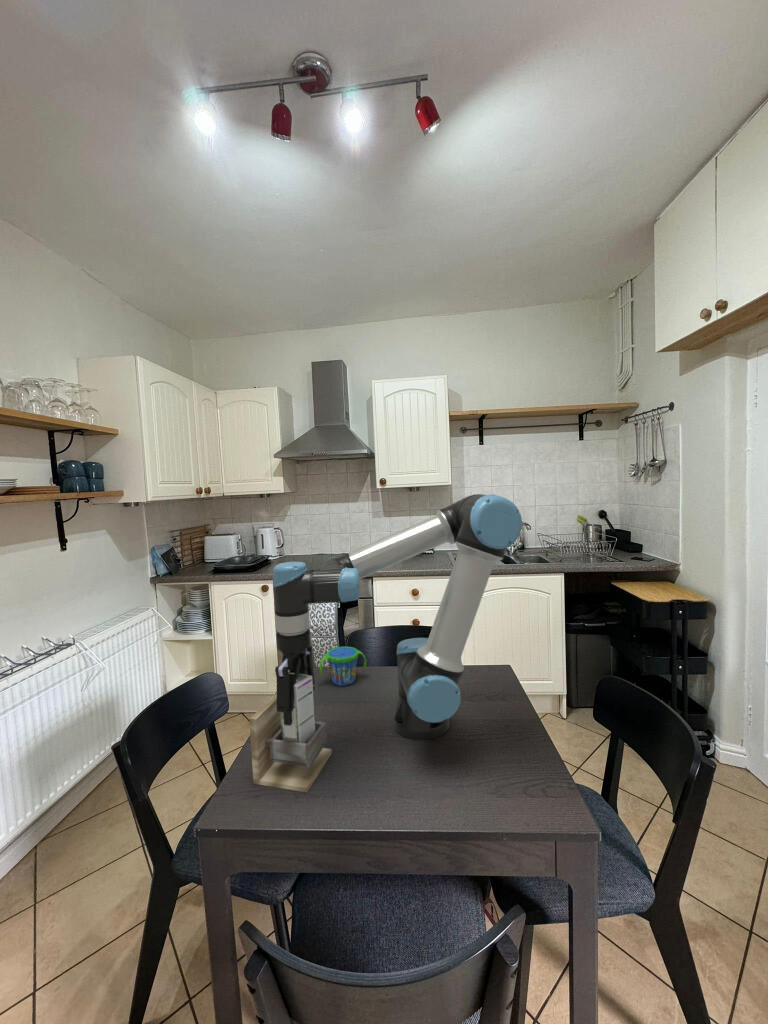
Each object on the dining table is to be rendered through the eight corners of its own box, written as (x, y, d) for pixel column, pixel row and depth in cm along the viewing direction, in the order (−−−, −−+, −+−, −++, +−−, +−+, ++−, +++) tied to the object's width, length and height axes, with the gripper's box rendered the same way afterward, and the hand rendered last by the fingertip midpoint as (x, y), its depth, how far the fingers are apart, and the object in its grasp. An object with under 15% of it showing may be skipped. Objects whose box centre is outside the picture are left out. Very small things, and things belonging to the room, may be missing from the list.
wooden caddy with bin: (331, 753, 107) (328, 693, 106) (306, 792, 94) (303, 725, 93) (284, 746, 111) (280, 689, 110) (253, 783, 97) (249, 718, 96)
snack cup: (364, 672, 152) (362, 643, 152) (369, 685, 142) (368, 655, 142) (319, 678, 149) (317, 649, 148) (321, 692, 139) (320, 661, 138)
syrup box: (316, 735, 102) (313, 674, 101) (299, 748, 97) (296, 684, 96) (298, 728, 105) (295, 669, 104) (280, 741, 100) (277, 679, 99)
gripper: (297, 616, 110) (303, 704, 112) (254, 645, 91) (261, 751, 93) (325, 617, 108) (330, 707, 110) (286, 647, 89) (293, 755, 91)
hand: (298, 727), depth 101 cm, fingers closed on syrup box, 7 cm apart
